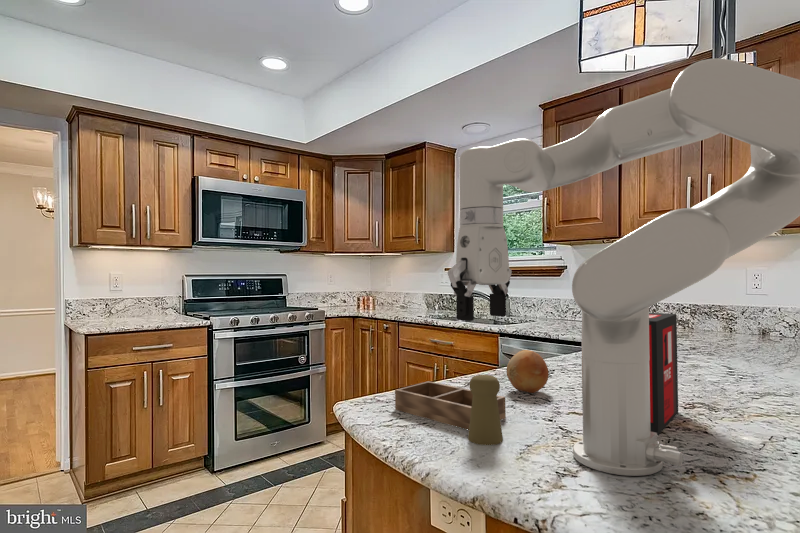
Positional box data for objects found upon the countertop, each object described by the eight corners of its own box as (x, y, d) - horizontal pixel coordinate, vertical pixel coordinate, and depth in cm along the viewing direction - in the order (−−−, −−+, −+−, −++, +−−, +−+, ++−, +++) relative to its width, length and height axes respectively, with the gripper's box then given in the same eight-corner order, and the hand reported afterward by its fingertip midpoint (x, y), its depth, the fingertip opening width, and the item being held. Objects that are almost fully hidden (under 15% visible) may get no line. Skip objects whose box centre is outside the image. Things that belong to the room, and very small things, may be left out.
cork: (503, 446, 80) (502, 380, 80) (466, 444, 81) (465, 379, 81) (502, 434, 86) (501, 372, 86) (468, 432, 87) (467, 371, 87)
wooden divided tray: (505, 418, 95) (505, 397, 95) (473, 431, 88) (473, 408, 88) (428, 399, 110) (428, 381, 110) (395, 409, 102) (395, 389, 102)
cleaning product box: (658, 435, 84) (656, 321, 85) (605, 425, 90) (604, 318, 90) (678, 413, 97) (676, 314, 97) (631, 405, 103) (629, 312, 103)
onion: (498, 392, 115) (497, 350, 115) (522, 385, 122) (521, 345, 122) (533, 400, 108) (532, 355, 108) (556, 392, 114) (556, 350, 115)
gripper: (468, 214, 75) (469, 324, 75) (526, 221, 87) (527, 315, 87) (432, 218, 81) (433, 320, 81) (491, 224, 93) (492, 313, 93)
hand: (482, 318), depth 84 cm, fingers open, 9 cm apart
